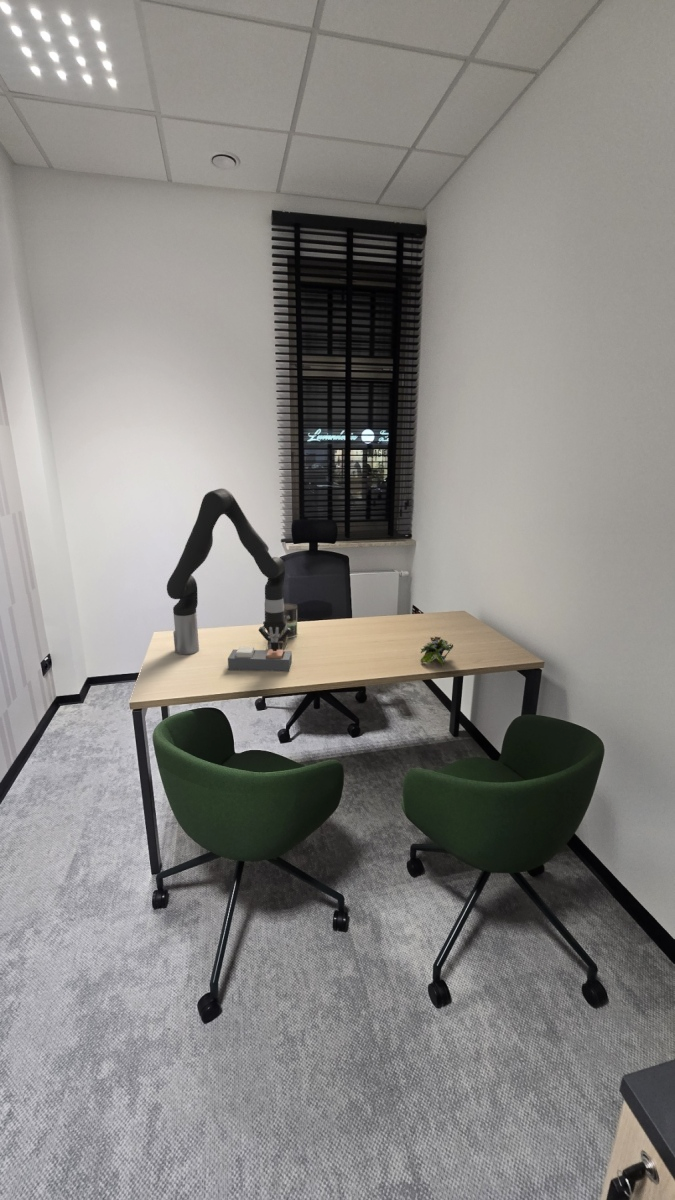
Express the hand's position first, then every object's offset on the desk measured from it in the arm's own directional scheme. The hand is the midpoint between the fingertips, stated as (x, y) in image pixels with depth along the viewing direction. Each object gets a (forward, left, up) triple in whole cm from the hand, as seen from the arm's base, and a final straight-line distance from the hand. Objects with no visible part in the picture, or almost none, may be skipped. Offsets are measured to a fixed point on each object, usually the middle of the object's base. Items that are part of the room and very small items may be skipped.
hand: (275, 650), depth 192 cm
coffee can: (0, +36, -7) cm, 37 cm away
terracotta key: (0, 0, -4) cm, 4 cm away
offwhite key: (-12, 0, -3) cm, 12 cm away
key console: (-6, 0, -7) cm, 9 cm away
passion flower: (+66, +8, -7) cm, 67 cm away
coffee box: (-2, +20, -7) cm, 21 cm away
